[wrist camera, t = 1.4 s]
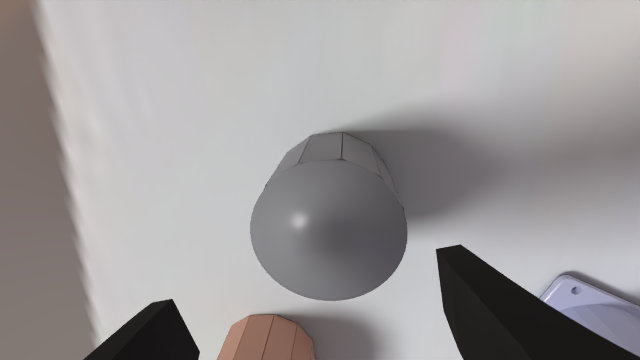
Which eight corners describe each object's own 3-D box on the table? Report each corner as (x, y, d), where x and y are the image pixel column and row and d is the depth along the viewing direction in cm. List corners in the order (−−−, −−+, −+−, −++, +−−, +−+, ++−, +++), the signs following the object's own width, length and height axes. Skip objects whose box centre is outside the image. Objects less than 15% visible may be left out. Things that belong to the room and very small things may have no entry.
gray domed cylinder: (411, 162, 16) (438, 203, 11) (358, 254, 18) (363, 321, 13) (302, 112, 16) (283, 133, 11) (260, 212, 18) (230, 266, 13)
